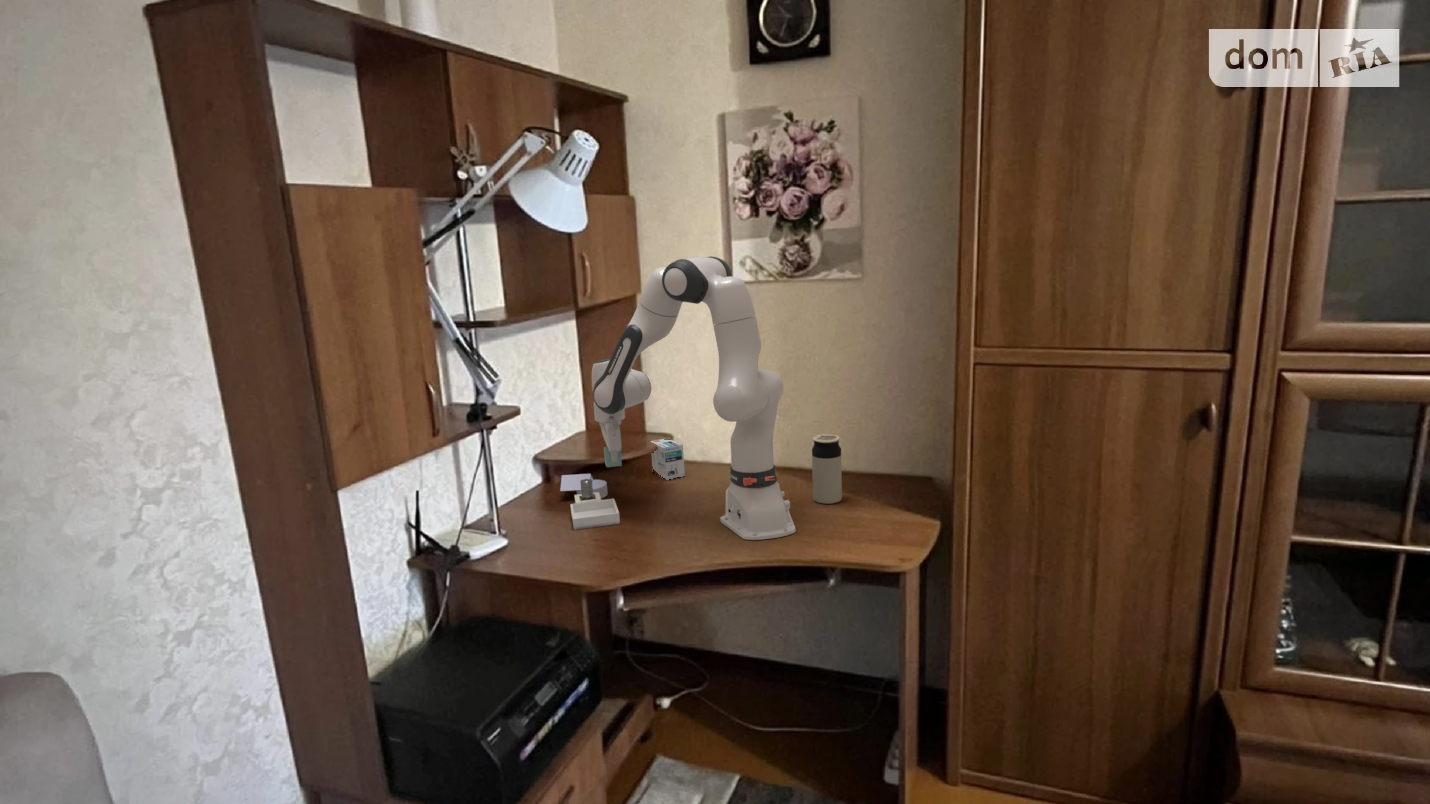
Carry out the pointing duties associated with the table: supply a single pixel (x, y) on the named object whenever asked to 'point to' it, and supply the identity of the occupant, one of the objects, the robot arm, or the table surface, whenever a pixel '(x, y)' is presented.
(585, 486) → the pin
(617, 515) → the tray
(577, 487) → the wedge on round base
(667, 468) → the light bulb box
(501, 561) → the table surface
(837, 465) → the travel mug
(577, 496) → the socket block
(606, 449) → the block
